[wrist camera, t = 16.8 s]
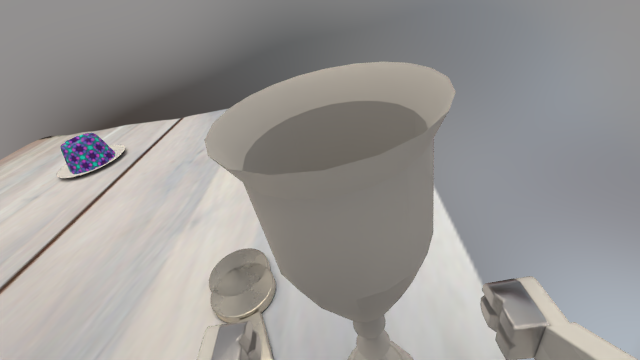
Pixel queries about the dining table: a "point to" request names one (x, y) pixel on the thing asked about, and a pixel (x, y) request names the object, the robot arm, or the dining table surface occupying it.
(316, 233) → the chalice
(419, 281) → the dining table surface
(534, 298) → the robot arm
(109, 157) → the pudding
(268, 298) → the spoon
